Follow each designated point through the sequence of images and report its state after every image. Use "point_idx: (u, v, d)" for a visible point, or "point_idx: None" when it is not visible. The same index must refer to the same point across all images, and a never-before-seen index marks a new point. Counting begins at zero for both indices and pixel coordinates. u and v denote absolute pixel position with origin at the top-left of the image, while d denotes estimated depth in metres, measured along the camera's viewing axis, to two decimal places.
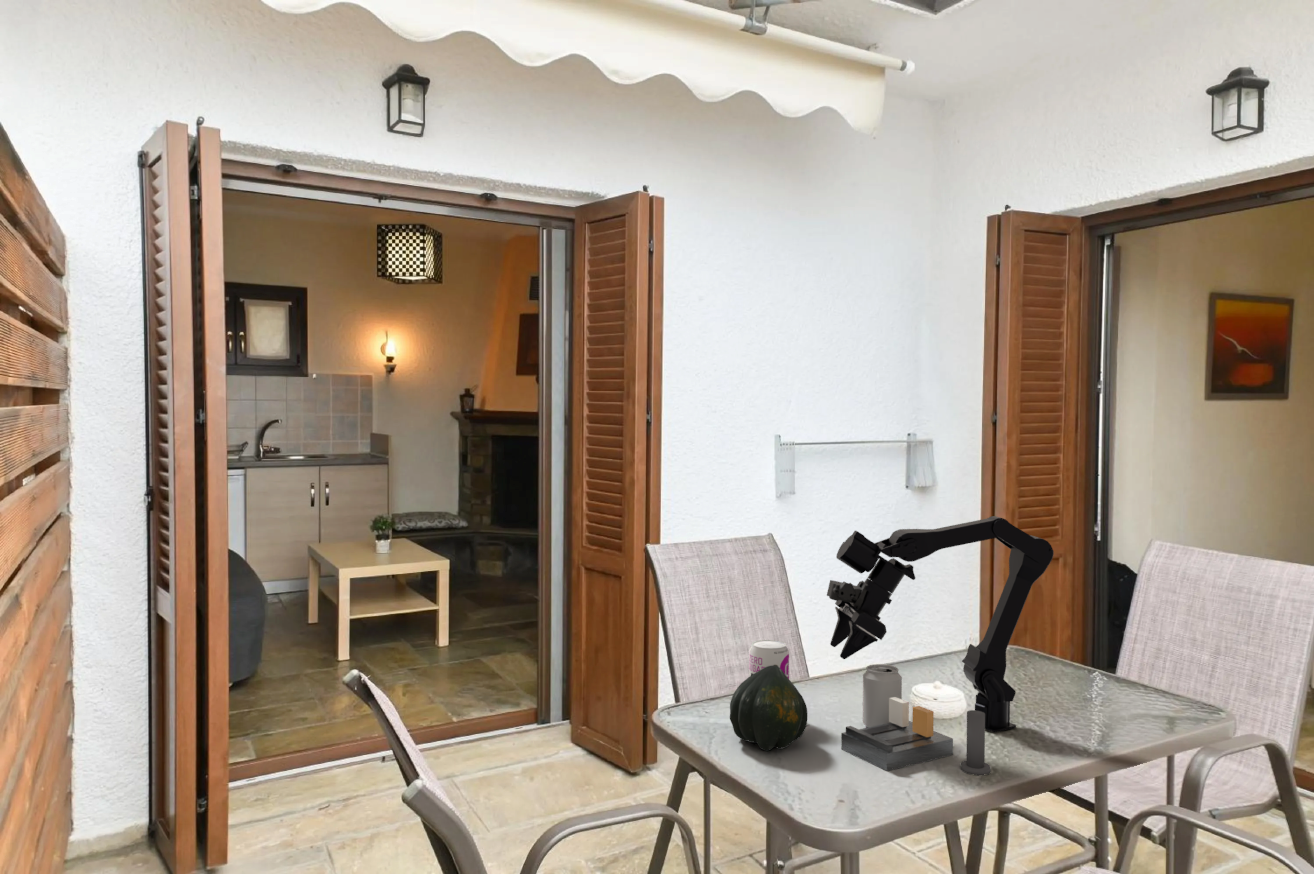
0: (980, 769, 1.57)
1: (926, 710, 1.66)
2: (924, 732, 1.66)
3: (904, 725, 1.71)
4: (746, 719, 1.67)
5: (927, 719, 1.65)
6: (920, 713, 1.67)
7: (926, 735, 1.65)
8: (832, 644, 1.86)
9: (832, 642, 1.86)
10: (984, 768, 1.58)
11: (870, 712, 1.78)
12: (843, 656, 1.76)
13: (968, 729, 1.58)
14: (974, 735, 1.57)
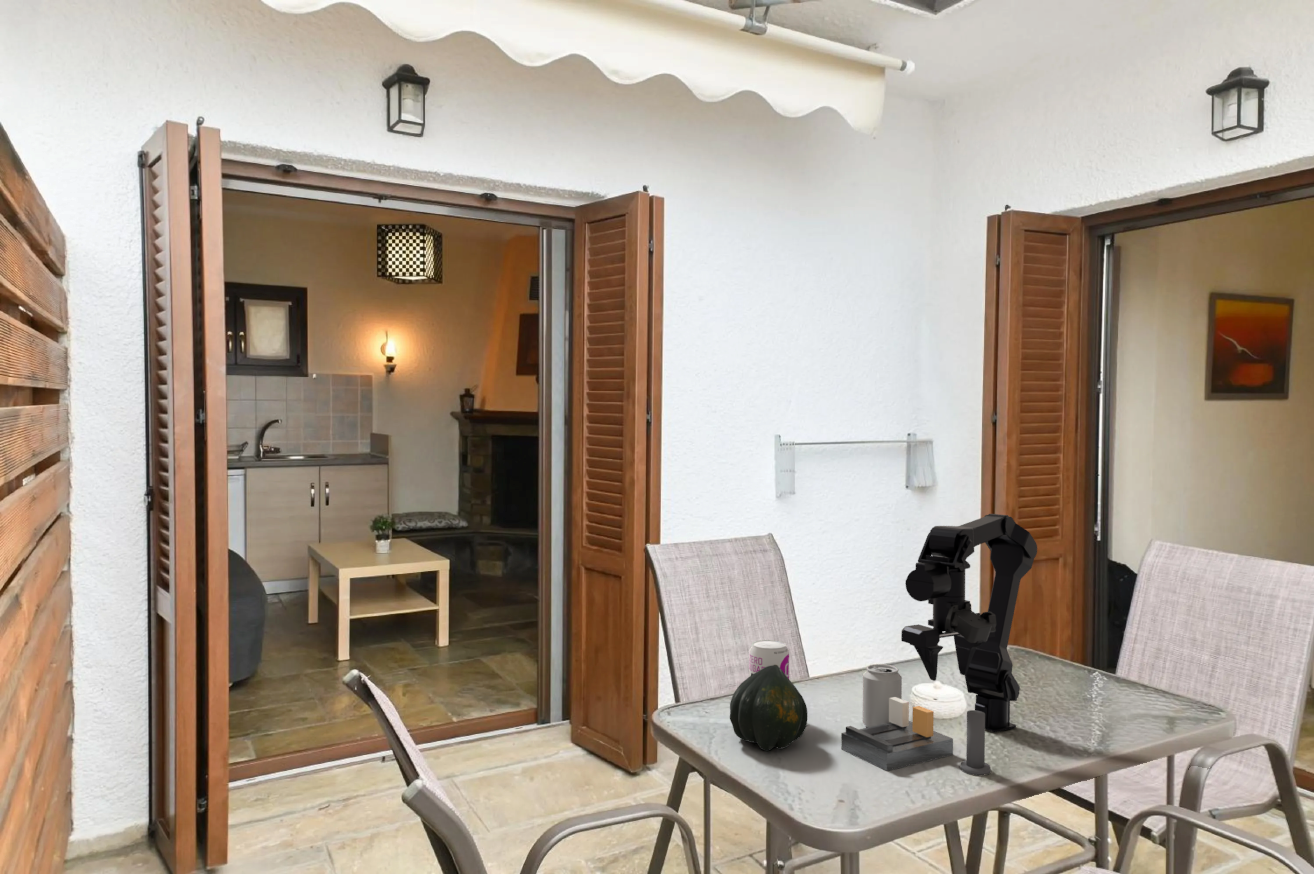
0: (980, 769, 1.57)
1: (926, 710, 1.66)
2: (924, 732, 1.66)
3: (904, 725, 1.71)
4: (746, 719, 1.67)
5: (927, 719, 1.65)
6: (920, 713, 1.67)
7: (926, 735, 1.65)
8: None
9: None
10: (984, 768, 1.58)
11: (870, 712, 1.78)
12: None
13: (968, 729, 1.58)
14: (974, 735, 1.57)
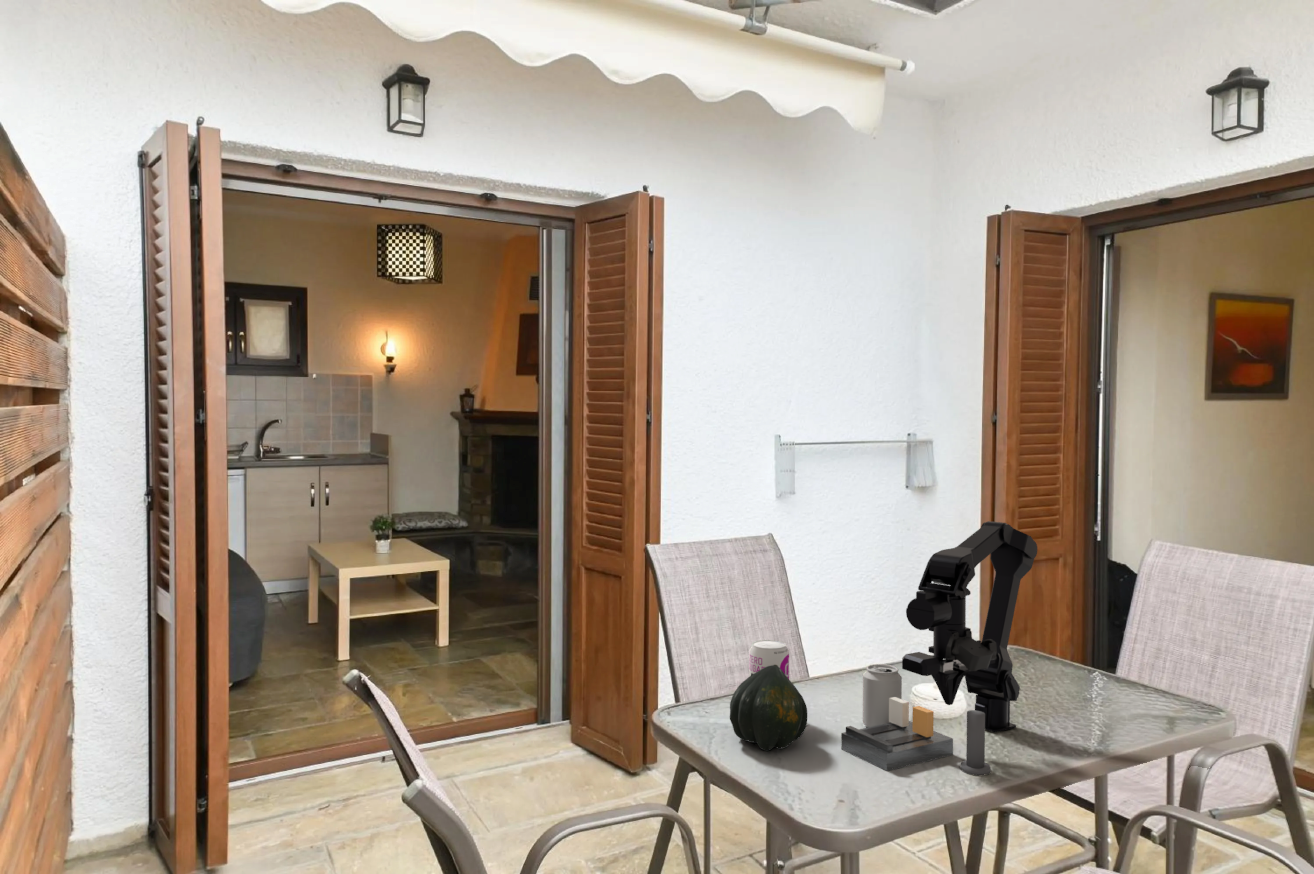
0: (980, 769, 1.57)
1: (926, 710, 1.66)
2: (924, 732, 1.66)
3: (904, 725, 1.71)
4: (746, 719, 1.67)
5: (927, 719, 1.65)
6: (920, 713, 1.67)
7: (926, 735, 1.65)
8: None
9: None
10: (984, 768, 1.58)
11: (870, 712, 1.78)
12: None
13: (968, 729, 1.58)
14: (974, 735, 1.57)
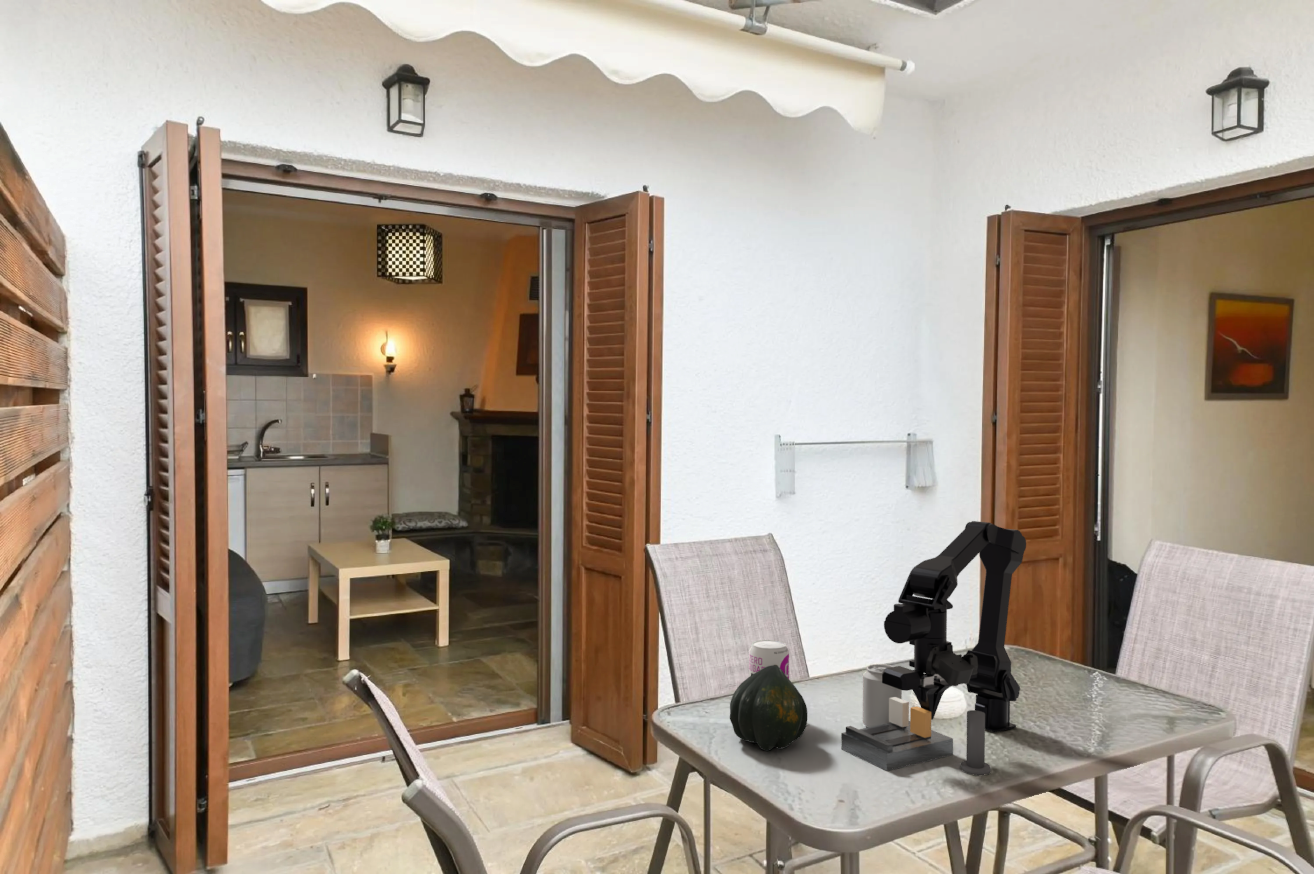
0: (980, 769, 1.57)
1: (924, 710, 1.66)
2: (922, 732, 1.65)
3: (904, 725, 1.71)
4: (746, 719, 1.67)
5: (925, 719, 1.65)
6: (918, 713, 1.66)
7: (924, 736, 1.65)
8: None
9: None
10: (984, 768, 1.58)
11: (870, 712, 1.78)
12: None
13: (968, 729, 1.58)
14: (974, 735, 1.57)
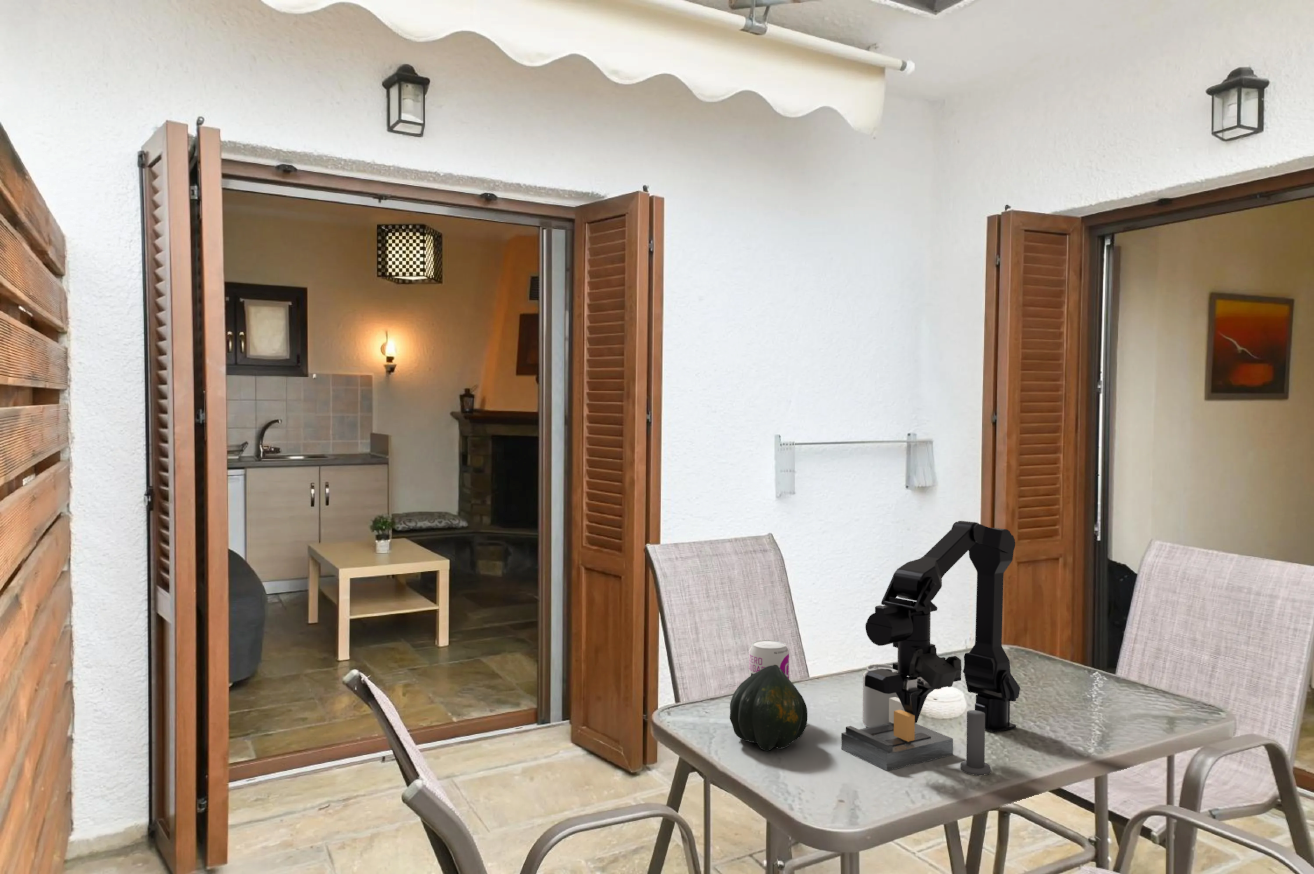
0: (980, 769, 1.57)
1: (907, 714, 1.64)
2: (905, 736, 1.63)
3: None
4: (746, 719, 1.67)
5: (908, 723, 1.63)
6: (901, 717, 1.64)
7: (907, 739, 1.63)
8: None
9: None
10: (984, 768, 1.58)
11: (870, 712, 1.78)
12: None
13: (968, 729, 1.58)
14: (974, 735, 1.57)
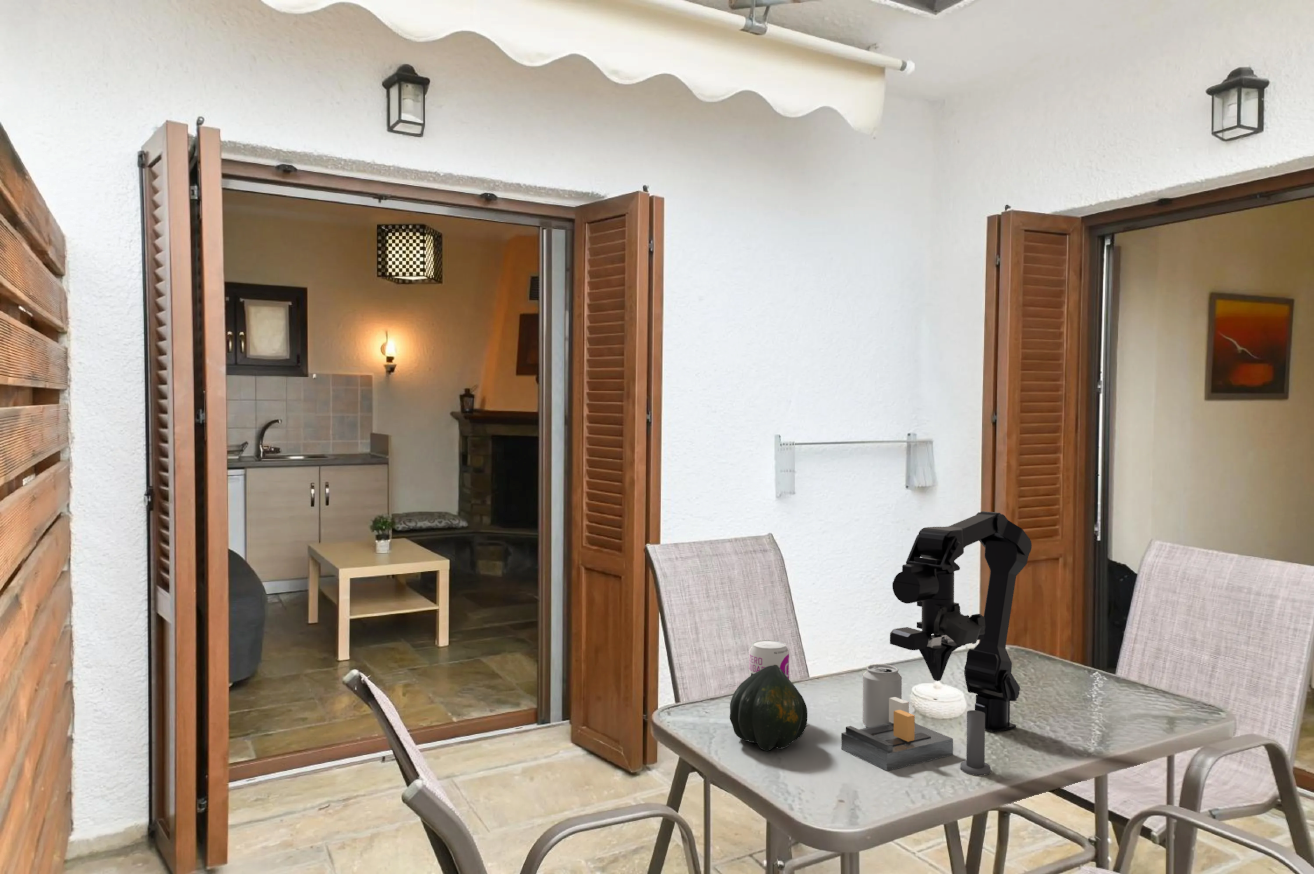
0: (980, 769, 1.57)
1: (907, 714, 1.64)
2: (905, 736, 1.63)
3: None
4: (746, 719, 1.67)
5: (908, 723, 1.63)
6: (901, 717, 1.64)
7: (907, 739, 1.63)
8: None
9: None
10: (984, 768, 1.58)
11: (870, 712, 1.78)
12: None
13: (968, 729, 1.58)
14: (974, 735, 1.57)
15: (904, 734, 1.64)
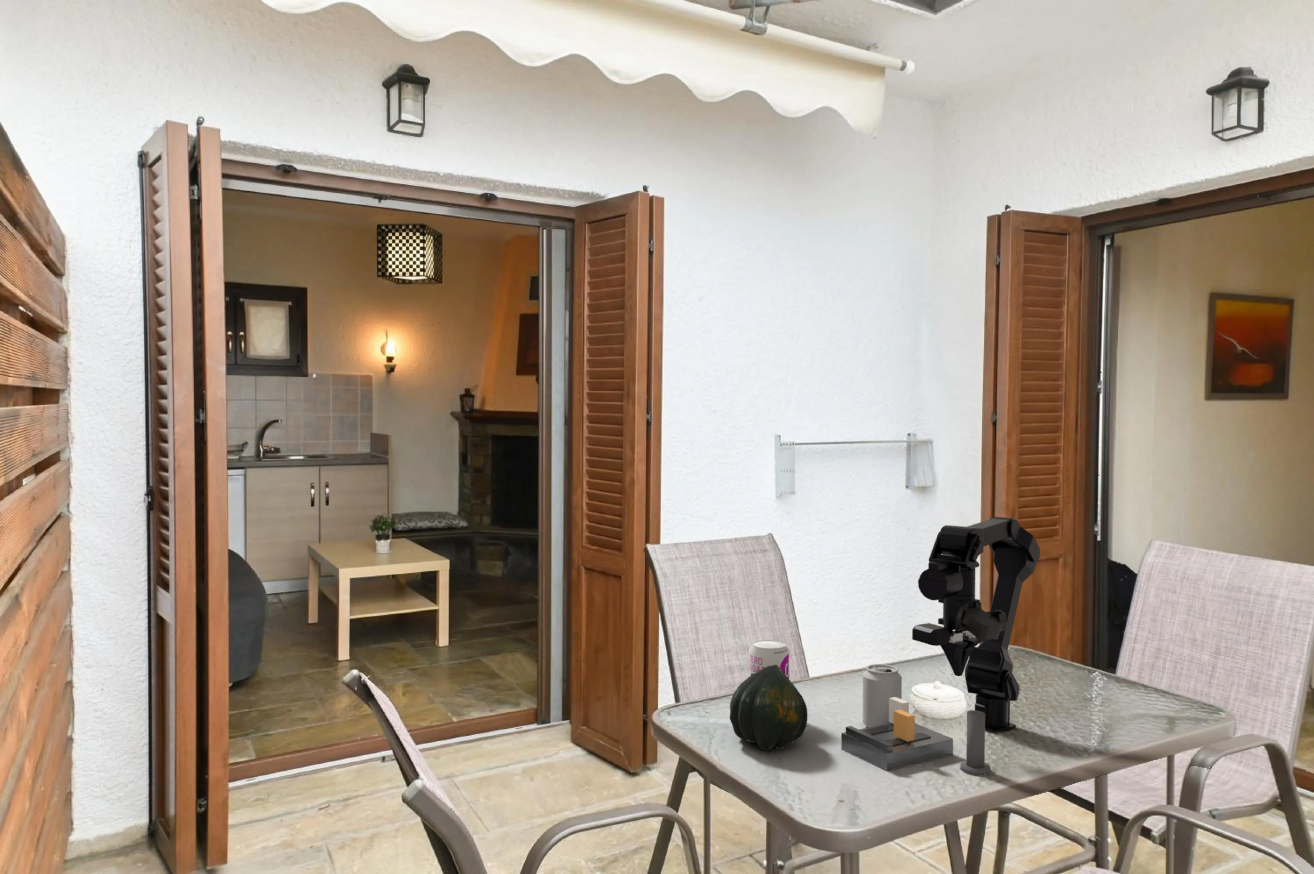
0: (980, 769, 1.57)
1: (907, 714, 1.64)
2: (905, 736, 1.63)
3: None
4: (746, 719, 1.67)
5: (908, 723, 1.63)
6: (901, 717, 1.64)
7: (907, 739, 1.63)
8: None
9: None
10: (984, 768, 1.58)
11: (870, 712, 1.78)
12: None
13: (968, 729, 1.58)
14: (974, 735, 1.57)
15: (904, 734, 1.64)
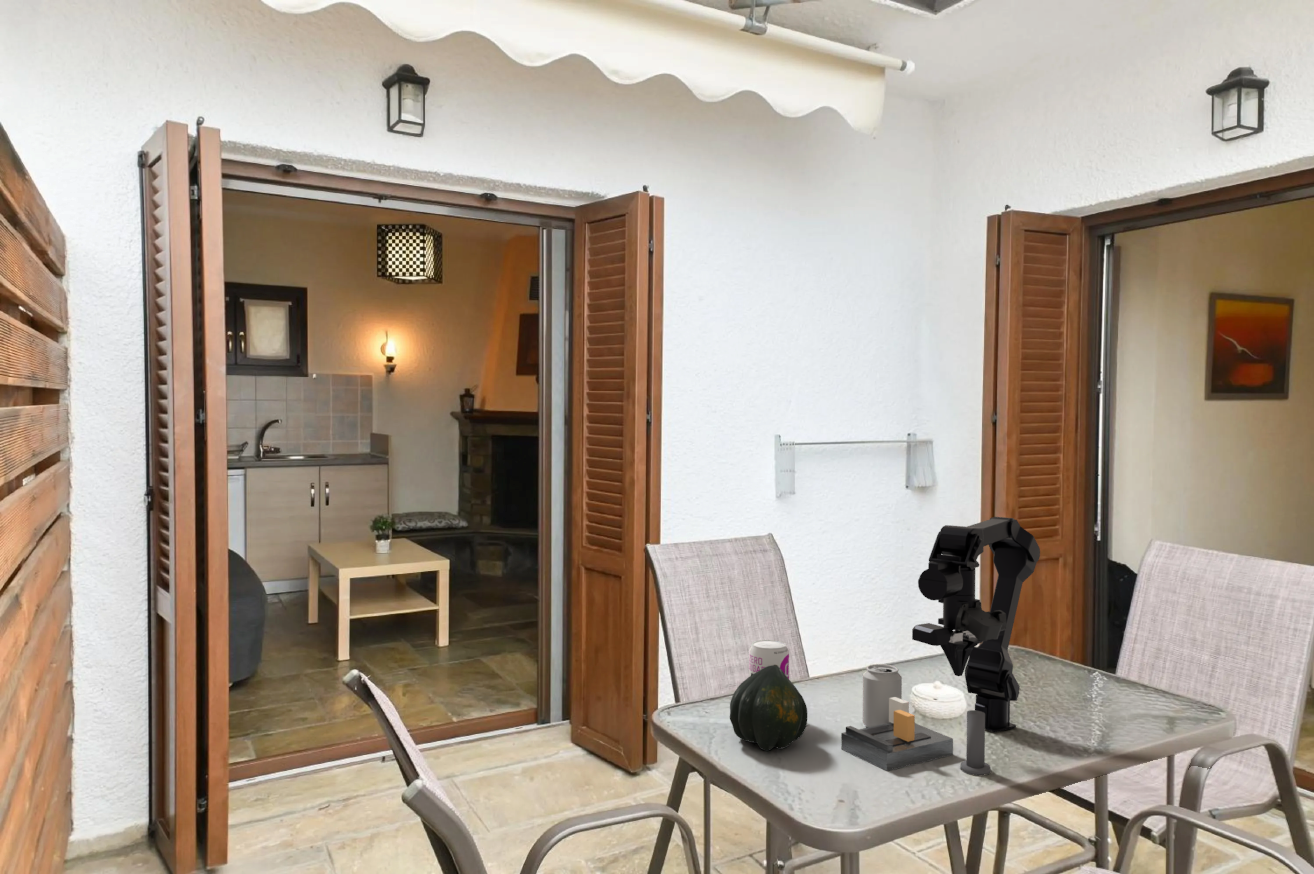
0: (980, 769, 1.57)
1: (907, 714, 1.64)
2: (905, 736, 1.63)
3: None
4: (746, 719, 1.67)
5: (908, 723, 1.63)
6: (901, 717, 1.64)
7: (907, 739, 1.63)
8: None
9: None
10: (984, 768, 1.58)
11: (870, 712, 1.78)
12: None
13: (968, 729, 1.58)
14: (974, 735, 1.57)
15: (904, 734, 1.64)
